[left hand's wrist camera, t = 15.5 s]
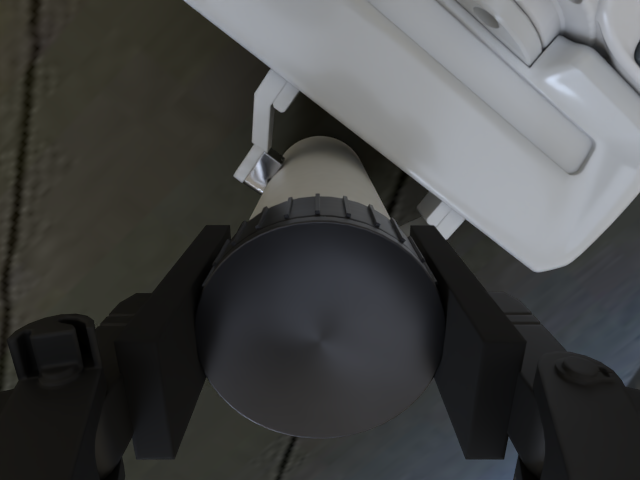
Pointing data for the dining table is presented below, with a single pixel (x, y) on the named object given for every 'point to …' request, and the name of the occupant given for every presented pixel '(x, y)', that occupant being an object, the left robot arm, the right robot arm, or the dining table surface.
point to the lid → (320, 319)
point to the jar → (320, 175)
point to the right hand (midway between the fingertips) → (309, 226)
